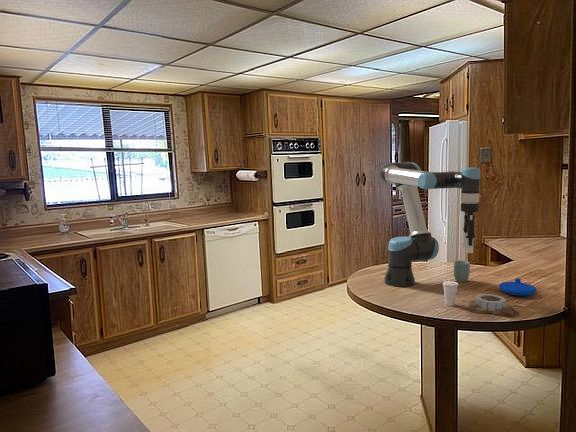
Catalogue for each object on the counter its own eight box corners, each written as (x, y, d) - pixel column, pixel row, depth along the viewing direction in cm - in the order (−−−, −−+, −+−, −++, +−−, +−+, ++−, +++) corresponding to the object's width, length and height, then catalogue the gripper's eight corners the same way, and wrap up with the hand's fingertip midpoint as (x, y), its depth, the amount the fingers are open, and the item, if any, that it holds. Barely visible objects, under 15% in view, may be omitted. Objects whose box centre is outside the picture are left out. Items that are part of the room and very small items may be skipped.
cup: (470, 283, 222) (471, 264, 221) (454, 282, 224) (455, 263, 223) (467, 279, 230) (468, 260, 229) (452, 278, 231) (452, 260, 230)
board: (470, 311, 181) (470, 308, 181) (468, 302, 193) (469, 300, 192) (513, 315, 176) (513, 313, 176) (509, 306, 187) (509, 303, 187)
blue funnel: (515, 287, 215) (516, 273, 214) (544, 296, 200) (545, 281, 199) (491, 291, 210) (491, 276, 209) (518, 300, 195) (519, 285, 194)
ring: (476, 309, 181) (476, 301, 180) (474, 300, 191) (474, 293, 191) (507, 312, 177) (507, 303, 176) (503, 303, 188) (504, 295, 187)
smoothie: (439, 302, 193) (440, 271, 192) (453, 301, 194) (454, 271, 192) (445, 307, 187) (447, 275, 185) (460, 306, 188) (461, 275, 186)
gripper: (483, 205, 180) (480, 256, 183) (475, 200, 204) (473, 244, 207) (463, 205, 182) (461, 255, 185) (458, 199, 206) (456, 244, 209)
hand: (467, 249), depth 196 cm, fingers open, 13 cm apart
